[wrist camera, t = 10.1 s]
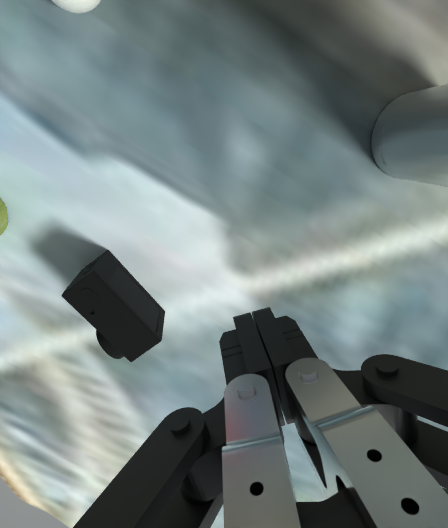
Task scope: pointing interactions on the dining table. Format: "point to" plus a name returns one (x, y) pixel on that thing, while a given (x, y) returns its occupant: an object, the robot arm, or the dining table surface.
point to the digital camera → (116, 308)
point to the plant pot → (3, 217)
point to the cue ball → (77, 5)
